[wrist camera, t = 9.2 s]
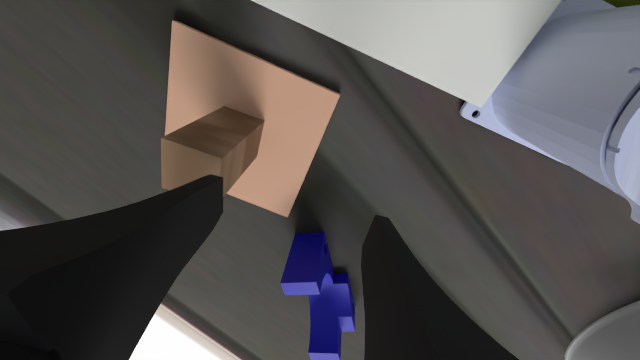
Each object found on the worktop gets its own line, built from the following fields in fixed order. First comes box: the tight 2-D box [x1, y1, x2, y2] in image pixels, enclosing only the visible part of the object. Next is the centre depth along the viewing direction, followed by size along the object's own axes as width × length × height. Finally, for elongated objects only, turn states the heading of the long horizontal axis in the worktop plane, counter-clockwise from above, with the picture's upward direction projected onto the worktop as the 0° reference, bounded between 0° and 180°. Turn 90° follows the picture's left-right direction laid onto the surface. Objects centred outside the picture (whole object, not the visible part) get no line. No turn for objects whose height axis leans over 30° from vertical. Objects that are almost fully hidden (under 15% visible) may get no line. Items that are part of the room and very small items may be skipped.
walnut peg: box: [161, 106, 265, 197], centre depth 16 cm, size 3×3×7 cm
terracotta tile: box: [165, 20, 340, 217], centre depth 20 cm, size 12×12×1 cm
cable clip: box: [280, 232, 355, 360], centre depth 25 cm, size 12×4×6 cm, turn 12°
